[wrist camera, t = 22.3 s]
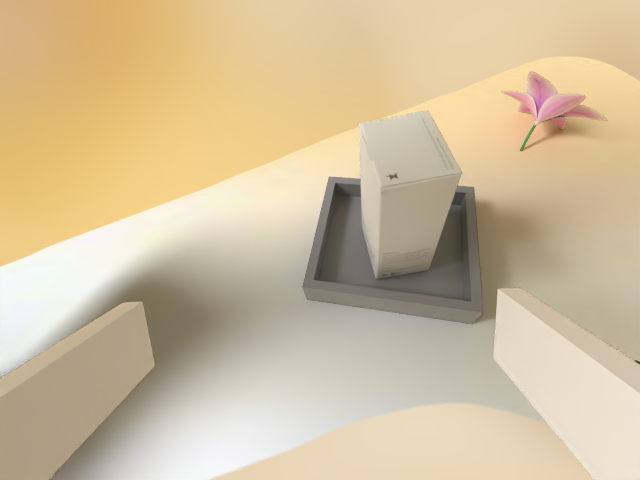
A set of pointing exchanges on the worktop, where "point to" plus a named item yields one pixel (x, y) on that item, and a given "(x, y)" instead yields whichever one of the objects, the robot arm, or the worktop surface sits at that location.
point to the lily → (550, 103)
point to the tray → (403, 290)
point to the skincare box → (404, 191)
